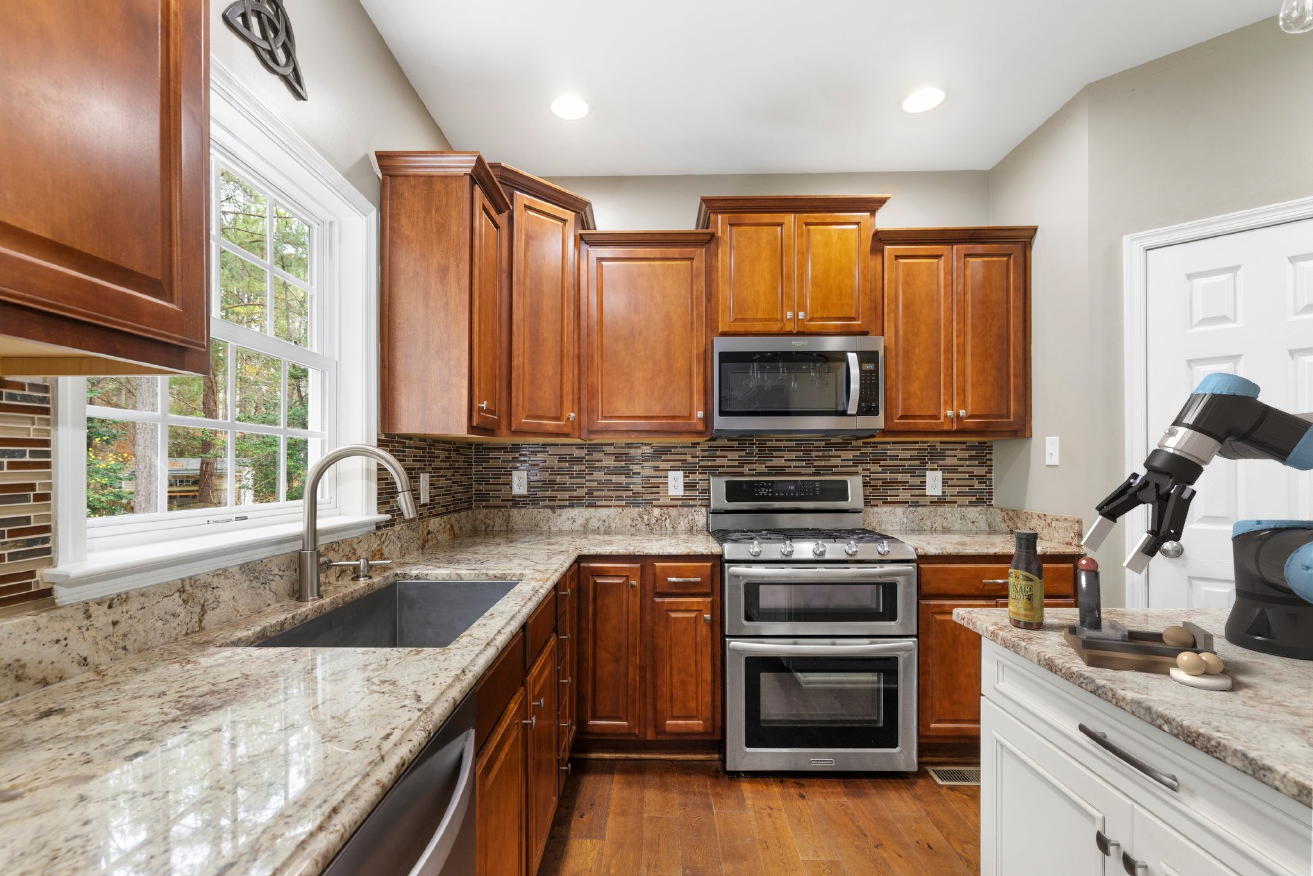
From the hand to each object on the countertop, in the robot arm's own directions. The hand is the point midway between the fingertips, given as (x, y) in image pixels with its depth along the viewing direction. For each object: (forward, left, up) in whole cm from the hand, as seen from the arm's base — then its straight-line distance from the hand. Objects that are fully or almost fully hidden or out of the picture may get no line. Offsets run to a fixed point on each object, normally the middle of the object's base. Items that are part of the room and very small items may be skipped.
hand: (1108, 558), depth 106 cm
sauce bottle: (+11, -13, -17) cm, 24 cm away
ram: (+2, +2, -14) cm, 15 cm away
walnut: (-9, +2, -15) cm, 17 cm away
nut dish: (-8, +12, -17) cm, 22 cm away
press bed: (-3, +2, -17) cm, 17 cm away
